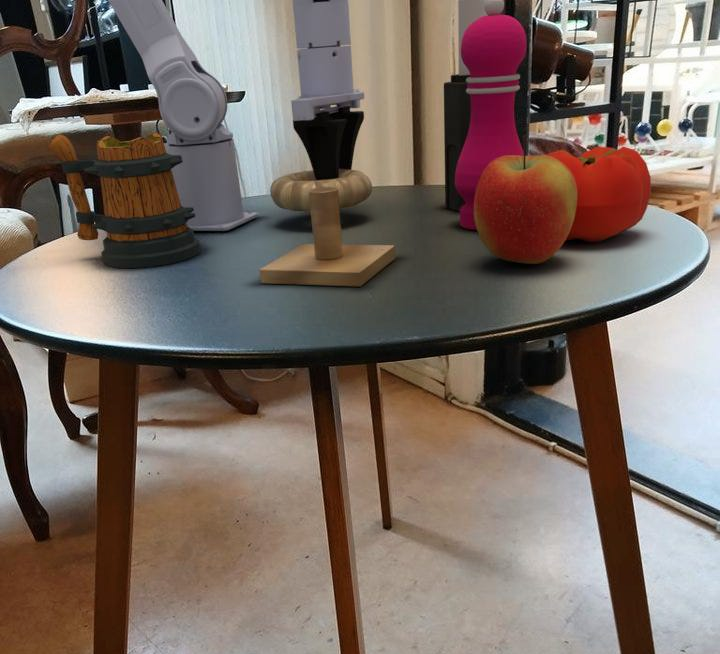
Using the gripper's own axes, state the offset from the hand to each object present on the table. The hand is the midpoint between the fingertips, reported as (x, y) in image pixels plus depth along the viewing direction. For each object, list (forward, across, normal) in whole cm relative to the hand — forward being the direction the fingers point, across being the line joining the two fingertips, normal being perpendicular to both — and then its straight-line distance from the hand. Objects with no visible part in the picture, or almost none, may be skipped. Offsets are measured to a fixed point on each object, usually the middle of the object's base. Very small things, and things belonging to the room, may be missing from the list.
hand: (334, 184), depth 87 cm
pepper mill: (+3, -5, -19) cm, 20 cm away
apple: (+3, -20, -25) cm, 32 cm away
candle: (+3, +4, -15) cm, 16 cm away
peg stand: (+3, -24, -9) cm, 26 cm away
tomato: (+3, -10, -29) cm, 31 cm away
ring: (0, -4, 0) cm, 4 cm away
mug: (+4, -21, +13) cm, 25 cm away
